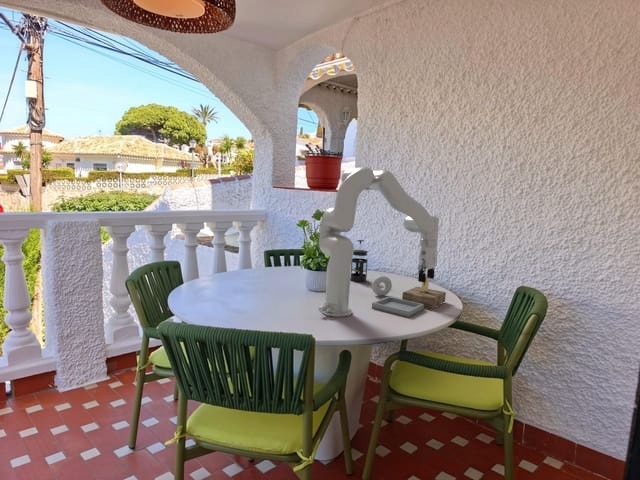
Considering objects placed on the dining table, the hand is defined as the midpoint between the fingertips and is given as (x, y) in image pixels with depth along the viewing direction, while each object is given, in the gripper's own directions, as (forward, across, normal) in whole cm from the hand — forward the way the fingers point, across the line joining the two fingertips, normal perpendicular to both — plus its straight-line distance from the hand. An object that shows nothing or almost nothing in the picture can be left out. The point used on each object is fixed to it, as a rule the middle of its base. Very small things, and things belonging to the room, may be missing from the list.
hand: (426, 280), depth 176 cm
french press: (+11, +14, +45) cm, 49 cm away
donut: (+11, -5, +20) cm, 23 cm away
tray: (+10, -19, +4) cm, 22 cm away
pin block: (+11, -1, 0) cm, 11 cm away
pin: (+11, -1, 0) cm, 11 cm away
